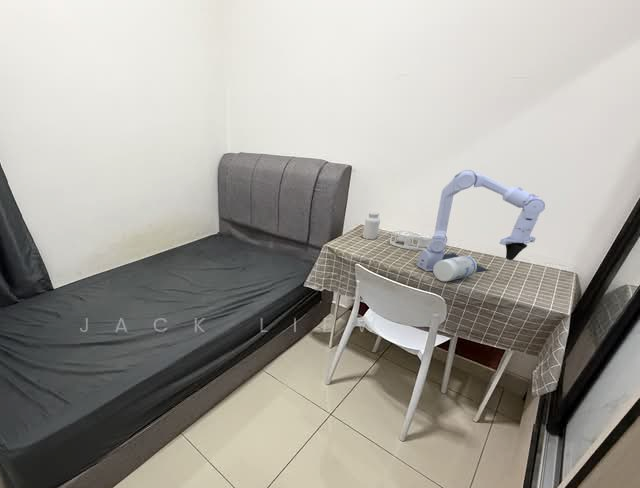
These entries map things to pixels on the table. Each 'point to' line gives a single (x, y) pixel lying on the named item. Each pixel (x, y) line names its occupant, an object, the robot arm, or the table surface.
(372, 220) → the pill bottle
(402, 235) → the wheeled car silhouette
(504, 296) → the table surface
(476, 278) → the table surface
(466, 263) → the supplement tub
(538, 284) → the table surface
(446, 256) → the desk mat
